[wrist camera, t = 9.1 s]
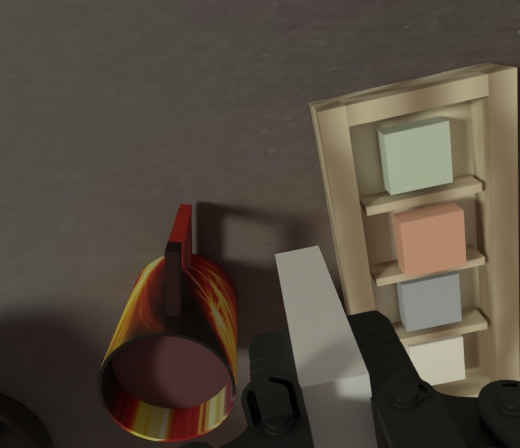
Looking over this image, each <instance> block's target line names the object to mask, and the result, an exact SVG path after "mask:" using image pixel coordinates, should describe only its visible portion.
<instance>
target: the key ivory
mask: <svg viewBox="0 0 520 448" xmlns="http://www.w3.org/2000/svg"><path fill="white" fill-rule="evenodd" d="M404 348H405V350H406V352H407V354H408V355H409V357H410V359H411V361H412V363H413V365H414V367H415V368H416V370H417V372H418V374H419V376H420V378H421V379H422V380H424V381H426V382H428V383H429V384H430V385H437V384H442V383H447V382H452V381H457V380H462V379H465V363H464V347H463V336H462V335H461V334H459V335H454V336H449V337H444V338H439V339H434V340H429V341H424V342H419V343H414V344H409V345H404Z"/></svg>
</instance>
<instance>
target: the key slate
mask: <svg viewBox="0 0 520 448" xmlns="http://www.w3.org/2000/svg"><path fill="white" fill-rule="evenodd" d="M396 288H397V296H398V304H399V312H400V319H401V321H402V323H403V325H404V327H405V329H406V331H407V332H409V331H414V330H419V329H424V328H429V327H434V326H439V325H444V324H449V323H454V322H460V321H462V316H461V300H460V284H459V273H458V272H457V271H451V272H446V273H441V274H436V275H431V276H426V277H422V278H417V279H412V280H407V281H402V282H397V283H396Z"/></svg>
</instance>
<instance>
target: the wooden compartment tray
mask: <svg viewBox="0 0 520 448" xmlns="http://www.w3.org/2000/svg"><path fill="white" fill-rule="evenodd" d="M310 109H311V115H312V121H313V126H314V132H315V138H316V144H317V149H318V155H319V161H320V167H321V172H322V178H323V184H324V190H325V195H326V201H327V207H328V213H329V218H330V224H331V230H332V236H333V241H334V247H335V253H336V259H337V264H338V270H339V276H340V282H341V287H342V293H343V299H344V305H345V310H346V316H348V315H353V314H358V313H363V312H367V311H372V310H377V311H379V312H380V313H381V314H383V315H384V316H386V317H387V318H389V320H390V322H391V324H392V326H393V328H394V329H395V332H396V333H397V335H398V337H399V339H400V342H402V344H403V346H404V345H409V344H414V343H419V342H424V341H429V340H434V339H439V338H444V337H449V336H454V335H459V334H461V335H462V336H463V347H464V363H465V379H462V380H457V381H452V382H447V383H442V384H437V385H431V386H432V387H433V388H434V389H435V390H436V391H438V392H440V393H444V394H447V395H452V396H461V397H478V395H479V393H480V391H481V389H482V387H484V386H485V385H487V384H488V383H490V382H494V381H498V380H516V381H520V368H519V239H518V111H517V67H511V66H505V65H499V64H493V63H482V64H478V65H473V66H469V67H465V68H460V69H456V70H451V71H447V72H443V73H438V74H434V75H429V76H425V77H420V78H416V79H412V80H407V81H403V82H398V83H394V84H389V85H385V86H381V87H376V88H372V89H367V90H363V91H358V92H354V93H350V94H345V95H341V96H336V97H332V98H328V99H323V100H319V101H314V102H310ZM436 116H440V117H442V118H444V119H446V120H449V126H450V142H451V158H452V173H453V182H451V183H446V184H442V185H437V186H432V187H428V188H423V189H418V190H414V191H409V192H404V193H400V194H395V195H391V194H390V193H389V192H388V191H387V190H386V189H385V188H384V182H383V174H382V165H381V157H380V149H379V141H378V133H377V129H382V128H387V127H391V126H396V125H400V124H405V123H409V122H414V121H418V120H423V119H427V118H432V117H436ZM451 201H453V202H455V203H456V204H457V205H458V206H459V207H461V208H462V209H463V210H464V226H465V244H466V262H467V266H462V267H457V268H452V269H448V270H443V271H438V272H433V273H428V274H423V275H418V276H413V277H409V278H406V277H405V275H404V274H403V272H402V271H401V269H400V268H399V265H398V256H397V248H396V240H395V231H394V223H393V214H394V213H399V212H403V211H408V210H413V209H418V208H422V207H427V206H432V205H436V204H441V203H446V202H451ZM451 271H457V272H458V273H459V284H460V300H461V316H462V321H460V322H454V323H449V324H444V325H439V326H434V327H429V328H424V329H419V330H414V331H409V332H407V331H406V329H405V327H404V325H403V323H402V321H401V319H400V312H399V304H398V296H397V288H396V283H397V282H402V281H407V280H412V279H417V278H422V277H426V276H431V275H436V274H441V273H446V272H451Z"/></svg>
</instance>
